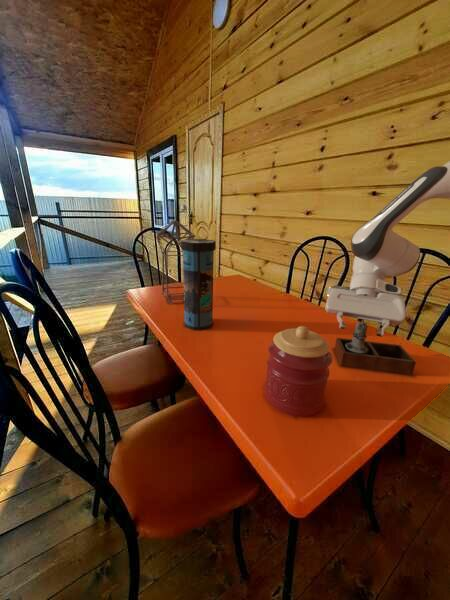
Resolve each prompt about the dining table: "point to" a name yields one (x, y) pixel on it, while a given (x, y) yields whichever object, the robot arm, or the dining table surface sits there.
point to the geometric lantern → (171, 255)
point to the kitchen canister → (297, 372)
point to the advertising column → (198, 282)
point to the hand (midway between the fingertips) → (360, 332)
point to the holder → (376, 357)
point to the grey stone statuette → (358, 340)
